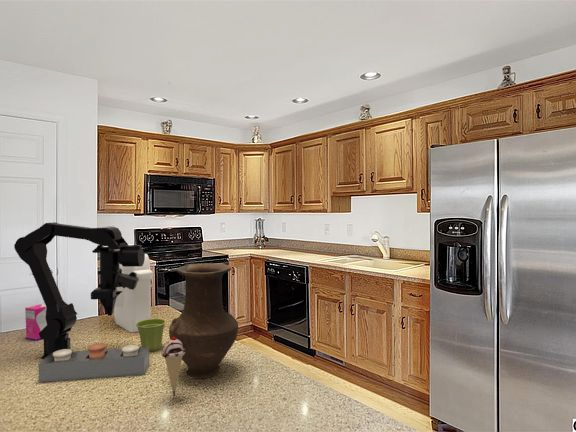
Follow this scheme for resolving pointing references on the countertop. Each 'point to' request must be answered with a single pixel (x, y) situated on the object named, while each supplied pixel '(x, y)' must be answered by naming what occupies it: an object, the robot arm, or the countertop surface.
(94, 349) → the rust plug
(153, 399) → the countertop surface
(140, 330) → the plant pot
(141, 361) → the socket block
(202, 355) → the vase
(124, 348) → the ivory plug far
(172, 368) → the ice cream cone
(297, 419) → the countertop surface
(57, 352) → the ivory plug near
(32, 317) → the supplement box
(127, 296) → the white plastic jug
